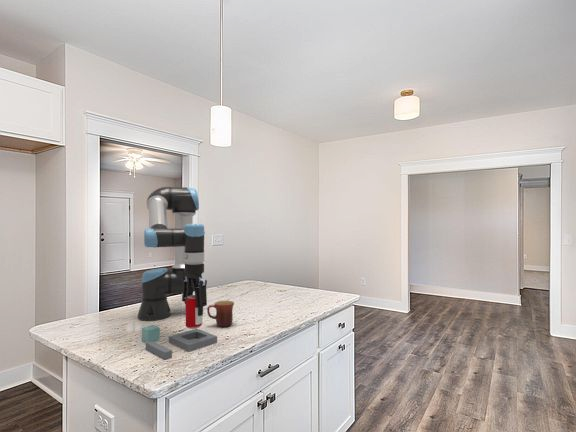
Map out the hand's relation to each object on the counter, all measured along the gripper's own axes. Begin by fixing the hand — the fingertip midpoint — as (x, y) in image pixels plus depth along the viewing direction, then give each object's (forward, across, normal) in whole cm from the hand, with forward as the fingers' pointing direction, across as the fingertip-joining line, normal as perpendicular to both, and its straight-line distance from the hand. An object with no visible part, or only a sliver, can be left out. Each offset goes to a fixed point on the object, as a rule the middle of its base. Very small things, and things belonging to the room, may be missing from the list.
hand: (193, 321), depth 133 cm
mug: (+8, -9, +20) cm, 24 cm away
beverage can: (+2, 0, 0) cm, 2 cm away
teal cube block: (+8, -15, -10) cm, 20 cm away
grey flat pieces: (+8, 0, -5) cm, 9 cm away
